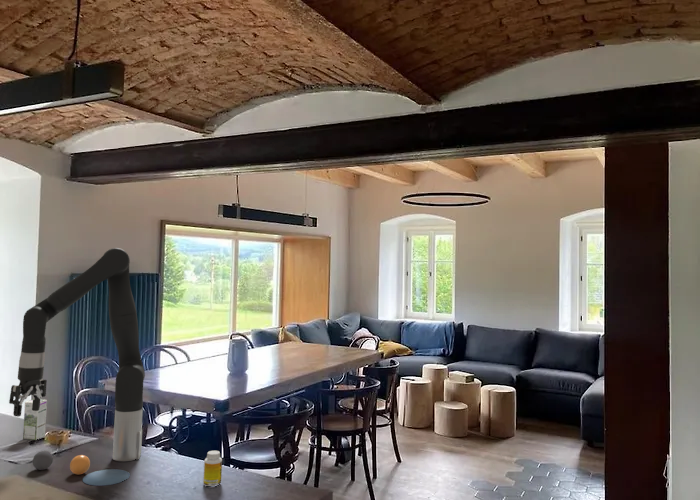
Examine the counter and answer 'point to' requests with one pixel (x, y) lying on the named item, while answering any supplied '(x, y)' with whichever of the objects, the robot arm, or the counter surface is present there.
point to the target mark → (106, 477)
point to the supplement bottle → (212, 469)
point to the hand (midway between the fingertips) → (26, 413)
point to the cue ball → (42, 460)
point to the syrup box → (34, 420)
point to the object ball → (80, 464)
